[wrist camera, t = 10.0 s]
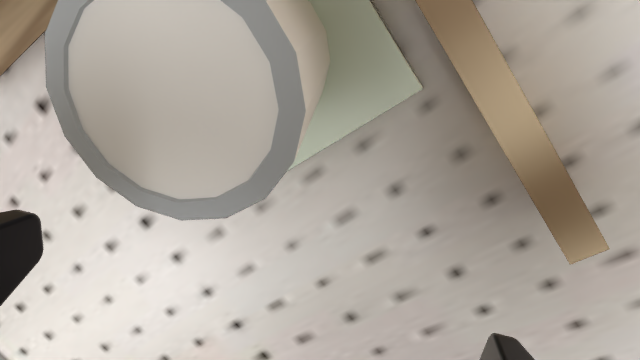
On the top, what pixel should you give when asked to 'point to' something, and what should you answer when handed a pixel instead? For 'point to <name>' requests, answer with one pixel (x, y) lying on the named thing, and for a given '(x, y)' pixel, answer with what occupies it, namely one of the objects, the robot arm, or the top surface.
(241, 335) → the top surface
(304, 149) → the pad
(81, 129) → the white cup
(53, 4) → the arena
